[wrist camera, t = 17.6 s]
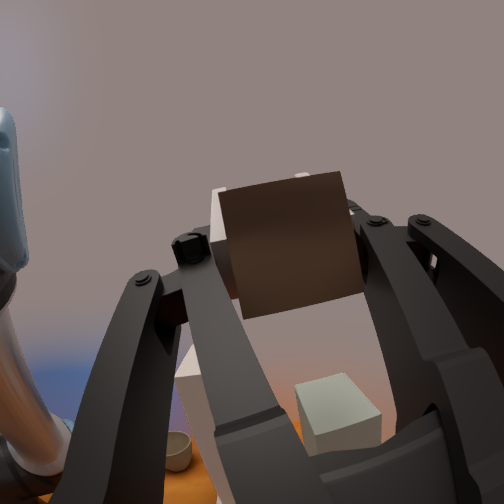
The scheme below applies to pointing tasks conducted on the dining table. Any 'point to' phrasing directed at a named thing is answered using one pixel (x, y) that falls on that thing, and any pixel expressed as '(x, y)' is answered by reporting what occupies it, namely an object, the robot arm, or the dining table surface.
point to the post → (336, 416)
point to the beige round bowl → (178, 451)
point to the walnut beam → (291, 243)
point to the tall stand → (201, 422)
